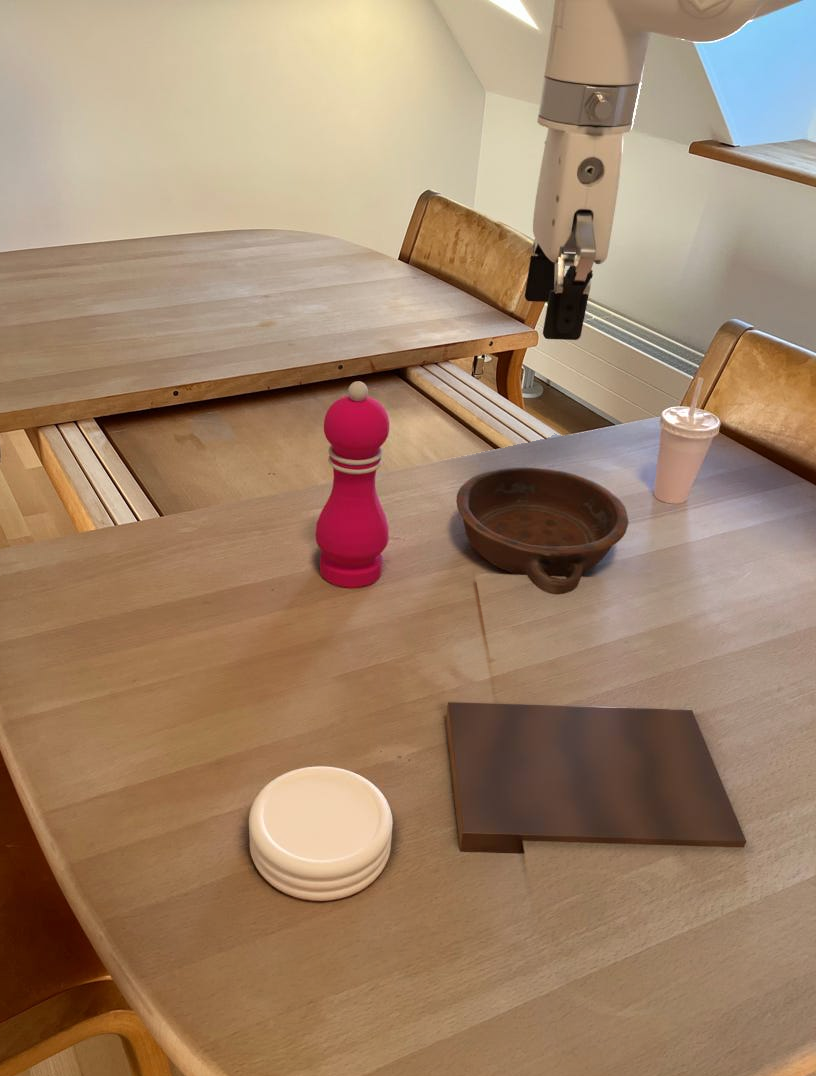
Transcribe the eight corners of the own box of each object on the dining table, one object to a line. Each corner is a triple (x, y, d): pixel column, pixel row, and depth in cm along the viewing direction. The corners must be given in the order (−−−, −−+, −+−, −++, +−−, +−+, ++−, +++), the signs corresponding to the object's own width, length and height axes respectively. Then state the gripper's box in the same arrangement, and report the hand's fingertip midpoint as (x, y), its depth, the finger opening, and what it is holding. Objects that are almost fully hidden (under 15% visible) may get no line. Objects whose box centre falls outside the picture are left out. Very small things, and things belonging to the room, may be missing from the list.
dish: (580, 492, 112) (588, 453, 109) (652, 601, 95) (664, 558, 92) (433, 497, 110) (437, 458, 107) (478, 610, 93) (485, 566, 90)
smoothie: (697, 486, 114) (729, 372, 106) (700, 513, 109) (735, 395, 101) (641, 479, 115) (669, 366, 107) (642, 505, 110) (671, 388, 102)
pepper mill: (390, 556, 100) (403, 370, 88) (381, 595, 94) (393, 402, 82) (322, 548, 101) (325, 363, 89) (308, 586, 95) (310, 394, 83)
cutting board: (686, 727, 80) (692, 709, 79) (738, 860, 69) (747, 841, 68) (445, 720, 80) (447, 701, 79) (459, 851, 69) (462, 832, 68)
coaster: (327, 776, 75) (328, 743, 73) (418, 854, 69) (422, 820, 67) (222, 840, 69) (219, 806, 67) (311, 930, 64) (311, 896, 61)
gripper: (663, 128, 70) (614, 356, 81) (609, 90, 84) (572, 289, 95) (561, 123, 70) (524, 353, 81) (523, 86, 84) (496, 286, 94)
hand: (550, 318), depth 88 cm, fingers open, 9 cm apart
